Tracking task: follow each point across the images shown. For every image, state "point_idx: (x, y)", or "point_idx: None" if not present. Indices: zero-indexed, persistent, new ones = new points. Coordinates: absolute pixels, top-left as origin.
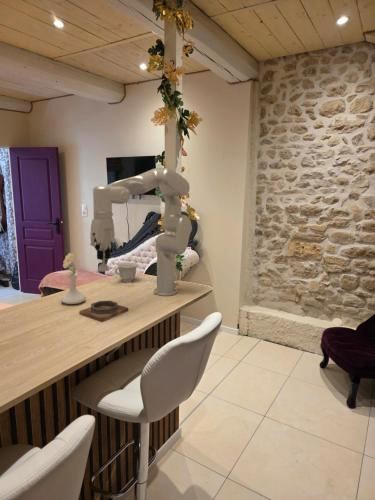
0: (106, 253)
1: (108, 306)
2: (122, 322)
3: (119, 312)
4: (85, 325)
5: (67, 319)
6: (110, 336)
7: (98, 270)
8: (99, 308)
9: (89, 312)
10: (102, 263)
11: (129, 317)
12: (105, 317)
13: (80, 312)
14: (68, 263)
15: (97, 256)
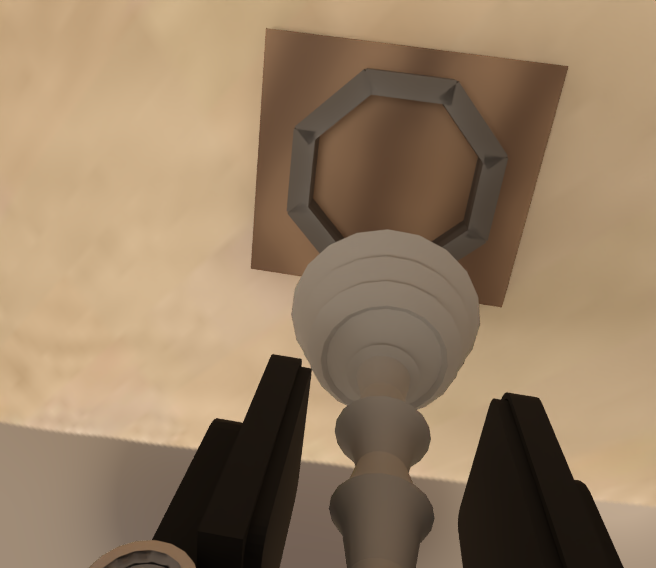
0: (491, 554)
1: (461, 165)
2: None
3: None
4: (166, 208)
5: (158, 27)
6: (153, 398)
7: (298, 289)
8: (391, 132)
9: (287, 123)
10: (357, 375)
11: None
12: (283, 272)
13: (267, 44)
14: None
15: (209, 439)
